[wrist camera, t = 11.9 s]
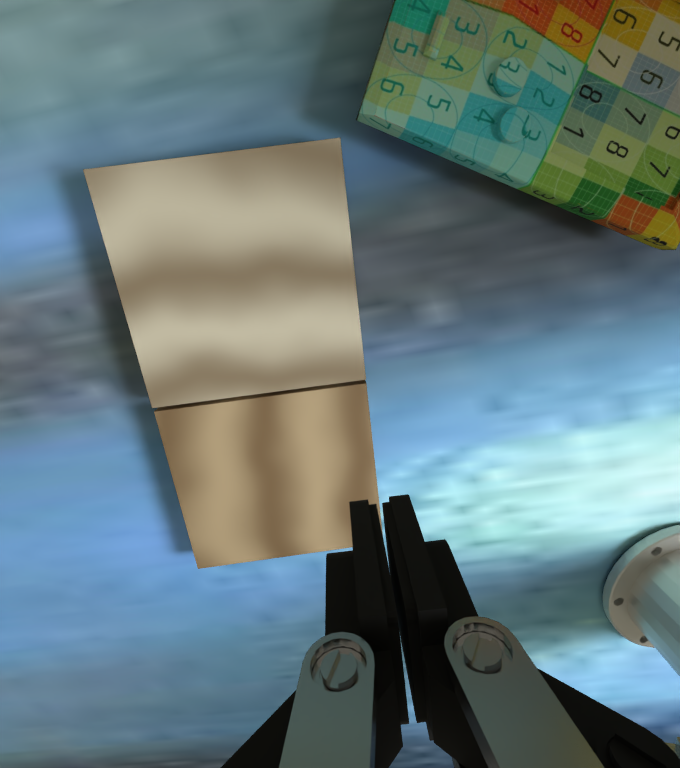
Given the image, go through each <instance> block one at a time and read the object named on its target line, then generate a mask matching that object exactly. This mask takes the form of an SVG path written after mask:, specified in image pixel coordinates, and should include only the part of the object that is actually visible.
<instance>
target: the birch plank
mask: <svg viewBox="0 0 680 768" xmlns="http://www.w3.org/2000/svg"><path fill="white" fill-rule="evenodd" d="M83 171H84V174H85V178H86V181H87V185H88V188H89V192H90V195H91V198H92V202H93V205H94V209H95V212H96V216H97V219H98V223H99V226H100V230H101V233H102V236H103V240H104V243H105V247H106V250H107V254H108V257H109V261H110V264H111V267H112V271H113V274H114V278H115V281H116V285H117V288H118V292H119V295H120V299H121V302H122V305H123V309H124V312H125V316H126V319H127V323H128V326H129V330H130V333H131V336H132V340H133V343H134V347H135V350H136V354H137V357H138V361H139V364H140V368H141V371H142V374H143V378H144V381H145V385H146V388H147V392H148V395H149V399H150V402H151V405H152V408H157V407H165V406H172V405H180V404H187V403H194V402H202V401H209V400H217V399H224V398H232V397H239V396H247V395H254V394H262V393H269V392H277V391H284V390H292V389H299V388H307V387H314V386H322V385H329V384H337V383H344V382H351V381H359V380H366V375H365V366H364V357H363V347H362V338H361V328H360V319H359V310H358V300H357V291H356V281H355V272H354V262H353V253H352V244H351V234H350V225H349V215H348V206H347V197H346V187H345V178H344V168H343V159H342V150H341V140H340V138H334V139H326V140H318V141H310V142H302V143H293V144H285V145H277V146H269V147H261V148H253V149H245V150H237V151H229V152H221V153H213V154H205V155H197V156H189V157H181V158H173V159H165V160H157V161H148V162H140V163H132V164H124V165H116V166H108V167H100V168H92V169H84V170H83Z"/></svg>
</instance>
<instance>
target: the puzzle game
mask: <svg viewBox="0 0 680 768" xmlns="http://www.w3.org/2000/svg"><path fill="white" fill-rule="evenodd" d="M356 120H357V121H359V122H362V123H364V124H366V125H369V126H371V127H373V128H376V129H378V130H380V131H383V132H385V133H387V134H390V135H392V136H394V137H397V138H399V139H401V140H404V141H406V142H408V143H411V144H413V145H415V146H418V147H420V148H422V149H425V150H427V151H429V152H432V153H434V154H436V155H439V156H441V157H443V158H446V159H448V160H450V161H453V162H455V163H457V164H460V165H462V166H464V167H467V168H469V169H471V170H474V171H476V172H478V173H481V174H483V175H485V176H488V177H490V178H493V179H495V180H497V181H500V182H502V183H504V184H507V185H509V186H511V187H514V188H516V189H518V190H521V191H523V192H525V193H528V194H530V195H532V196H535V197H537V198H539V199H542V200H544V201H546V202H549V203H551V204H553V205H556V206H558V207H560V208H563V209H565V210H567V211H570V212H572V213H574V214H577V215H579V216H581V217H584V218H586V219H588V220H591V221H593V222H595V223H598V224H600V225H602V226H605V227H607V228H609V229H612V230H614V231H616V232H619V233H621V234H623V235H626V236H628V237H630V238H633V239H635V240H637V241H640V242H642V243H644V244H647V245H649V246H651V247H655V248H658V249H661V250H676V248H677V246H678V245H679V243H680V0H394V3H393V6H392V9H391V12H390V15H389V18H388V21H387V25H386V28H385V31H384V34H383V37H382V40H381V43H380V46H379V49H378V53H377V56H376V59H375V62H374V65H373V68H372V71H371V74H370V77H369V81H368V84H367V87H366V90H365V93H364V96H363V99H362V102H361V106H360V109H359V112H358V115H357V118H356Z"/></svg>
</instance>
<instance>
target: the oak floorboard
mask: <svg viewBox="0 0 680 768" xmlns="http://www.w3.org/2000/svg"><path fill="white" fill-rule="evenodd" d="M154 414H155V417H156V421H157V424H158V428H159V431H160V435H161V438H162V442H163V446H164V449H165V453H166V456H167V460H168V463H169V467H170V471H171V474H172V478H173V481H174V485H175V488H176V492H177V496H178V499H179V503H180V506H181V510H182V513H183V517H184V520H185V524H186V528H187V531H188V535H189V538H190V542H191V545H192V549H193V553H194V556H195V560H196V563H197V567H198V569H200V568H207V567H214V566H221V565H228V564H235V563H242V562H250V561H257V560H264V559H271V558H278V557H285V556H292V555H299V554H307V553H314V552H321V551H328V550H335V549H342V548H349V547H353V544H352V531H351V519H350V506H349V502H351V501H359V500H367V499H368V502H369V505H370V504H377V509H378V515H379V520H380V525H381V516H380V507H379V497H378V488H377V479H376V469H375V460H374V451H373V442H372V432H371V423H370V414H369V405H368V395H367V386H366V382H365V380H359V381H351V382H344V383H337V384H329V385H322V386H314V387H307V388H299V389H292V390H284V391H277V392H269V393H262V394H254V395H247V396H239V397H232V398H224V399H217V400H209V401H202V402H194V403H187V404H180V405H172V406H165V407H158V408H157V409H156V410H155V411H154ZM381 530H382V525H381ZM382 536H383V534H382Z"/></svg>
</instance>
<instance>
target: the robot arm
mask: <svg viewBox="0 0 680 768" xmlns="http://www.w3.org/2000/svg"><path fill="white" fill-rule="evenodd" d="M382 505H383V515H384V524H385V533H386V542H387V552H388V561H389V567H388V562H387V556H386V551H385V546H384V541H383V536H382V530H381V525H380V520H379V515H378V509H377V504H370V505H369V502H368V499H367V500H359V501H351V502H349V506H350V519H351V531H352V544H353V551H345V552H337V553H329V554H327V556H326V619H325V636H324V637H322V638H320V639H319V640H318V641H316V642H315V643H314V644H313V645H312V646H311V647H310V649H309V650H308V651H307V653H306V655H305V658H304V660H303V663H302V668H301V672H300V677H299V681H298V685H297V690H296V691H295V692H294V693H293V694H292V695H291V696H290V697H289V698H288V699H287V700H286V701H285V702H284V703H283V704H282V705H281V706H280V707H279V708H278V709H277V710H276V711H275V712H274V713H273V714H272V715H271V717H270V718H269V719H268V720H267V721H266V722H265V723H264V724H263V725H262V726H261V727H260V728H259V729H258V730H257V731H256V732H255V733H254V734H253V735H252V736H251V737H250V738H249V739H248V740H247V741H246V742H245V743H244V744H243V745H242V746H241V747H240V748H239V749H238V751H237V752H236V753H235V754H234V755H233V756H232V757H231V758H230V759H229V760H228V761H227V762H226V763H225V764H224V765H223V766H222V767H221V768H389V766H390V765H391V763H392V762H393V760H394V759H395V757H396V756H397V754H398V753H399V751H400V750H401V748H402V747H403V743H402V734H401V725H402V724H409V718H408V708H407V699H406V690H405V680H404V671H403V661H402V652H401V643H400V636H401V642H402V647H403V652H404V658H405V663H406V668H407V674H408V679H409V684H410V690H411V695H412V700H413V706H414V711H415V716H416V721H417V723H420V722H426V724H427V729H428V734H429V739H430V741H431V740H434V743H435V744H436V745H438V746H439V747H440V748H441V749H443V750H444V751H445V752H446V753H448V754H449V755H450V756H451V757H452V761H453V765H454V768H680V737H677V738H676V744H673V743H665V742H664V741H663V740H662V739H660V738H659V737H657V736H656V735H654V734H653V733H651V732H650V731H649V730H647V729H646V728H644V727H642V726H640V725H638V724H637V723H635V722H633V721H631V720H629V719H628V718H626V717H624V716H622V715H621V714H619V713H617V712H615V711H613V710H612V709H610V708H608V707H606V706H604V705H603V704H601V703H599V702H597V701H595V700H594V699H592V698H590V697H588V696H586V695H585V694H583V693H581V692H579V691H577V690H576V689H574V688H572V687H570V686H568V685H567V684H565V683H563V682H561V681H559V680H558V679H556V678H554V677H552V676H550V675H549V674H547V673H545V672H543V671H541V670H540V669H538V668H536V666H535V665H534V663H533V662H532V661H531V659H530V658H529V656H528V655H527V653H526V652H525V650H524V649H523V647H522V646H521V644H520V643H519V641H518V640H517V638H516V637H515V636H514V635H513V634H512V633H511V632H510V630H509V629H508V628H506V627H505V626H503V625H502V624H500V623H499V622H497V621H494V620H491V619H489V618H485V617H478V614H477V612H476V610H475V607H474V605H473V602H472V600H471V598H470V595H469V593H468V590H467V588H466V586H465V583H464V581H463V578H462V576H461V574H460V571H459V569H458V566H457V564H456V562H455V559H454V557H453V554H452V552H451V550H450V547H449V545H448V543H447V541H446V540H437V541H428V542H424V539H423V536H422V533H421V530H420V527H419V524H418V521H417V518H416V515H415V512H414V509H413V506H412V503H411V500H410V497H409V495H400V496H391V497H389V502H386V503H382ZM389 570H390V572H389ZM602 598H603V608H604V611H605V614H606V616H607V618H608V619H609V621H610V622H611V624H612V625H613V626H614V628H615V629H616V630H617V631H618V632H619V633H620V634H621V635H622V636H623V637H624V638H626V639H628V640H629V641H631V642H633V643H635V644H638V645H641V646H647V647H653V648H656V649H657V651H658V652H659V653H660V654H661V655H662V656H663V658H664V659H665V660H666V661H667V662H668V663H669V665H670V666H671V667H672V668H673V669H674V670H675V672H676V673H677V674H678V675H679V676H680V525H675V526H672V527H668V528H665V529H662V530H659V531H657V532H655V533H653V534H650V535H648V536H646V537H645V538H643V539H642V540H640V541H639V542H637V543H636V544H634V545H633V546H632V547H631V548H630V549H628V550H627V551H626V552H625V553H624V554H623V555H622V556H621V557H620V559H619V560H618V561H617V562H616V563H615V565H614V566H613V568H612V570H611V571H610V573H609V575H608V577H607V580H606V583H605V585H604V590H603V597H602ZM399 631H400V633H399Z"/></svg>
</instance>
